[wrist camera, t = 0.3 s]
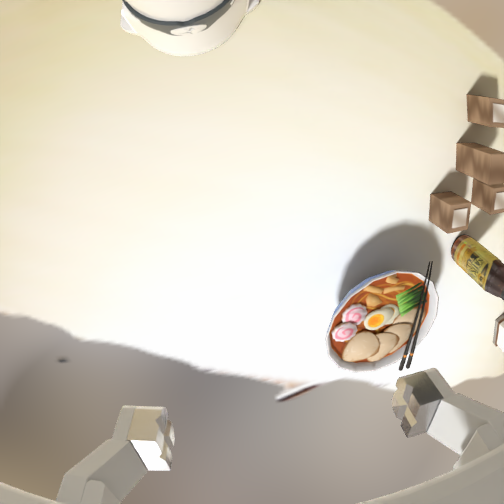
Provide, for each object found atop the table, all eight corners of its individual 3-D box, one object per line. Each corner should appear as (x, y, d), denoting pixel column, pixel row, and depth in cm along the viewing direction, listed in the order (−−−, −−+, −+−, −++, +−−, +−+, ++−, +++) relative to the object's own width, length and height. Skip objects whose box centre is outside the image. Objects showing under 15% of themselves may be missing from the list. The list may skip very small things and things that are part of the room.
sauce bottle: (451, 236, 54) (517, 290, 36) (472, 231, 54) (537, 280, 37) (447, 265, 57) (506, 322, 39) (468, 258, 57) (527, 311, 40)
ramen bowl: (317, 251, 52) (333, 277, 45) (430, 239, 54) (455, 259, 46) (310, 359, 63) (320, 389, 56) (406, 339, 65) (422, 364, 58)
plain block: (456, 142, 46) (490, 154, 38) (474, 142, 46) (508, 154, 38) (455, 169, 48) (488, 184, 40) (473, 168, 48) (506, 183, 40)
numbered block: (466, 94, 42) (490, 97, 36) (484, 96, 42) (507, 100, 36) (467, 121, 44) (490, 127, 38) (485, 122, 44) (508, 128, 39)
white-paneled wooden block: (473, 178, 49) (494, 188, 44) (489, 177, 49) (510, 186, 44) (470, 203, 51) (491, 215, 46) (487, 200, 52) (507, 211, 46)
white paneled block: (430, 193, 50) (451, 205, 44) (451, 191, 50) (472, 202, 44) (428, 220, 52) (448, 234, 46) (449, 216, 52) (469, 229, 47)
